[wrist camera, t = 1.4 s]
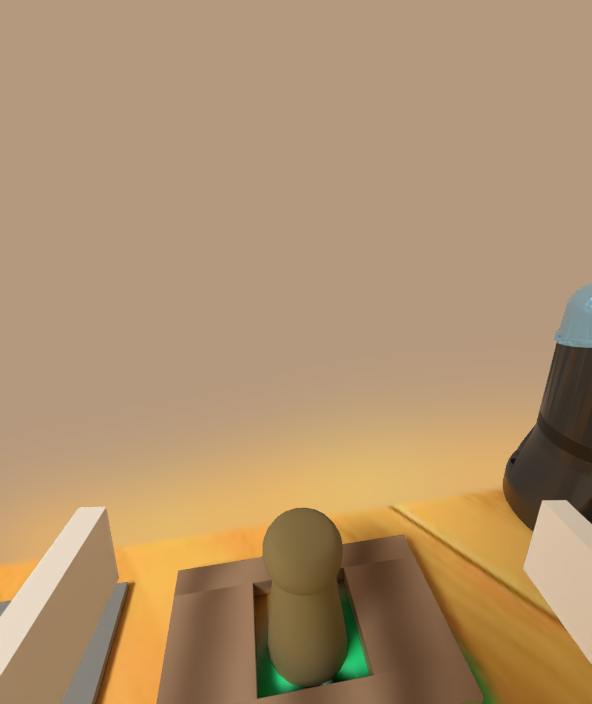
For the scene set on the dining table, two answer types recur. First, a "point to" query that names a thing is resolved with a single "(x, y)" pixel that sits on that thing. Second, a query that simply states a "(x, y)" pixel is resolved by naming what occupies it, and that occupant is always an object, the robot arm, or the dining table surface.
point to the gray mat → (94, 651)
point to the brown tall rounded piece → (305, 597)
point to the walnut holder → (371, 622)
